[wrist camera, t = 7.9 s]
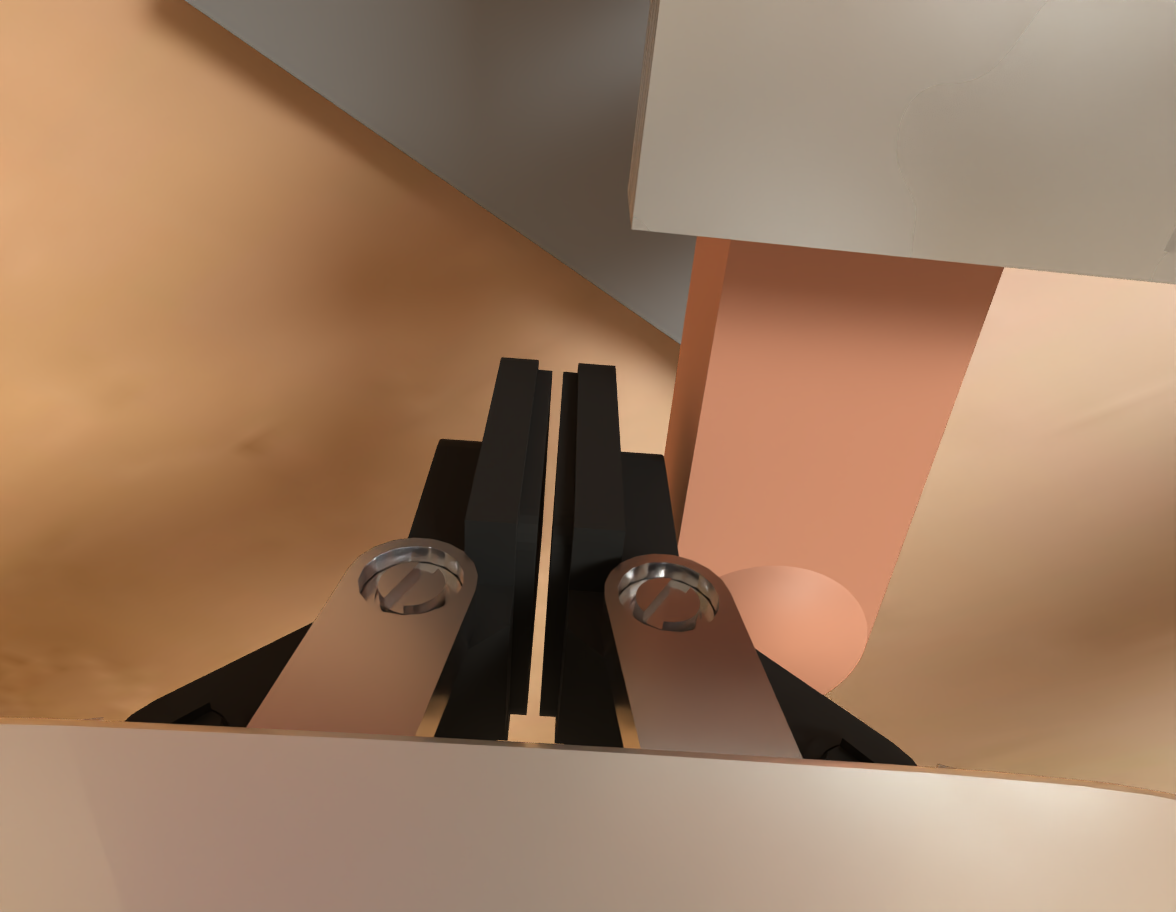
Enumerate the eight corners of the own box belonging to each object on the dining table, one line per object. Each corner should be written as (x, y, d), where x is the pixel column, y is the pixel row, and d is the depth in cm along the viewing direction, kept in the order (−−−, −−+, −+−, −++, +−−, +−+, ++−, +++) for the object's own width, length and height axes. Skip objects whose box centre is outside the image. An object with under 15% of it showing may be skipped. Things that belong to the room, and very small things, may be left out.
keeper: (632, -120, 14) (695, -282, 5) (999, -76, 14) (1772, -147, 5) (613, 66, 16) (631, 229, 6) (943, 102, 16) (1444, 311, 6)
